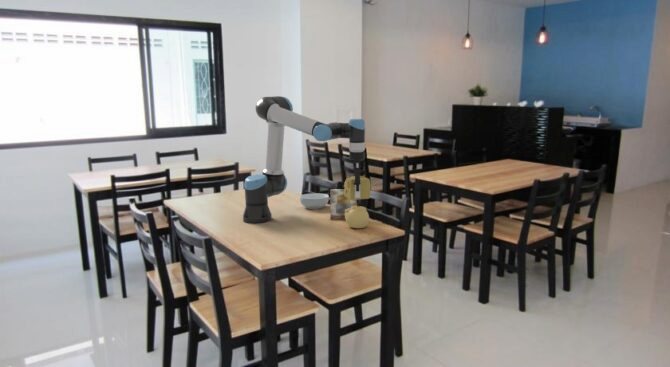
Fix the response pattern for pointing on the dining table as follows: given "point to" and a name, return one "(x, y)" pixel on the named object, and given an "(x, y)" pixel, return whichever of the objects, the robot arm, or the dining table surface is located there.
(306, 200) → the cereal bowl
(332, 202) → the stand
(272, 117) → the robot arm
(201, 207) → the dining table surface
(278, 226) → the dining table surface
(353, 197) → the cheese
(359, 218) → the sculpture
